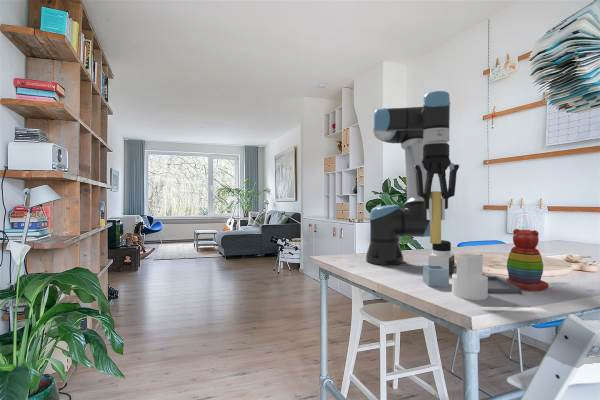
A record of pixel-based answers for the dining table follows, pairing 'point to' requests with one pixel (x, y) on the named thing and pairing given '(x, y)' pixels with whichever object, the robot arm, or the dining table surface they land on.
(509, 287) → the tray
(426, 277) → the pen cup
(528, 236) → the stacking bear
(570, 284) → the dining table surface
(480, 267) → the base with upright slab
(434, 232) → the dowel
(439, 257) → the medicine bottle
